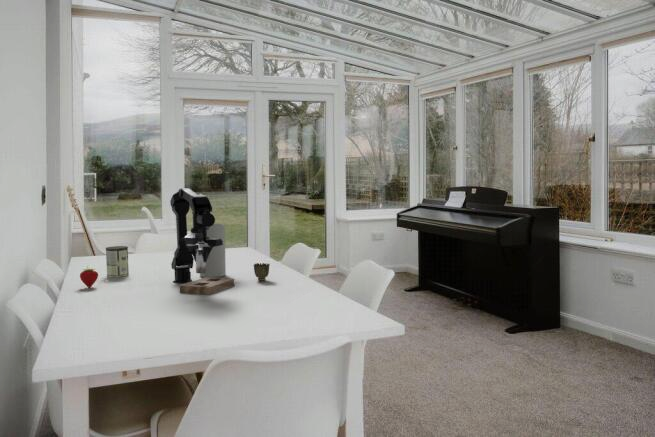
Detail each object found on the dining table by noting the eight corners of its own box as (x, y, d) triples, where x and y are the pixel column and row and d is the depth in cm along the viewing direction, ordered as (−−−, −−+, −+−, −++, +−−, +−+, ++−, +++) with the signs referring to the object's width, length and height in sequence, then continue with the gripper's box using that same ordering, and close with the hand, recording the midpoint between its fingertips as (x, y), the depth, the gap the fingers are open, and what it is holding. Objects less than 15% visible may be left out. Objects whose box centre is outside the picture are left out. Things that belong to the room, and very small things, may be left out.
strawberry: (97, 288, 240) (96, 265, 239) (78, 289, 238) (78, 266, 237) (99, 285, 246) (98, 263, 245) (81, 286, 244) (80, 264, 243)
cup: (266, 282, 251) (266, 265, 251) (251, 282, 253) (251, 265, 252) (271, 279, 259) (271, 262, 258) (256, 279, 260) (256, 262, 260)
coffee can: (112, 273, 277) (111, 245, 276) (132, 273, 276) (131, 246, 275) (102, 277, 267) (101, 248, 265) (122, 277, 265) (121, 248, 264)
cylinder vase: (194, 277, 266) (193, 225, 264) (209, 272, 278) (208, 223, 276) (216, 278, 261) (215, 226, 260) (230, 274, 273) (229, 224, 271)
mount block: (179, 292, 231) (179, 285, 231) (207, 283, 250) (207, 276, 250) (208, 294, 226) (208, 287, 226) (234, 285, 246) (233, 278, 245)
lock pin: (194, 273, 232) (193, 249, 231) (199, 271, 235) (199, 248, 235) (202, 273, 230) (201, 250, 230) (207, 272, 234) (207, 248, 233)
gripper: (169, 226, 227) (170, 263, 228) (208, 227, 221) (209, 266, 222) (185, 224, 237) (186, 259, 239) (222, 225, 231) (223, 262, 232)
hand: (200, 261), depth 233 cm, fingers closed on lock pin, 4 cm apart
